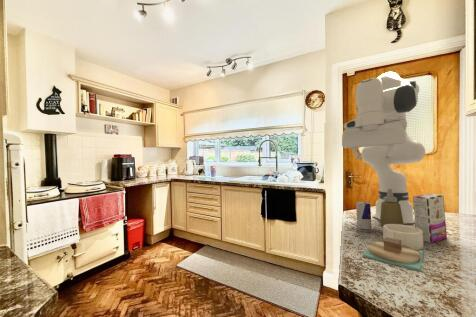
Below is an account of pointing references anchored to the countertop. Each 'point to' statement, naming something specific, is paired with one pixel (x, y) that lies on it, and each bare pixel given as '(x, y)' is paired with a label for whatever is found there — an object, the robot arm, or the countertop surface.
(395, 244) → the oak lid
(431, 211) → the candy bar box
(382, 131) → the robot arm
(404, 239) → the ceramic bowl
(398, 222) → the squeeze bottle
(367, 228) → the energy drink
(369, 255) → the rubber mat
